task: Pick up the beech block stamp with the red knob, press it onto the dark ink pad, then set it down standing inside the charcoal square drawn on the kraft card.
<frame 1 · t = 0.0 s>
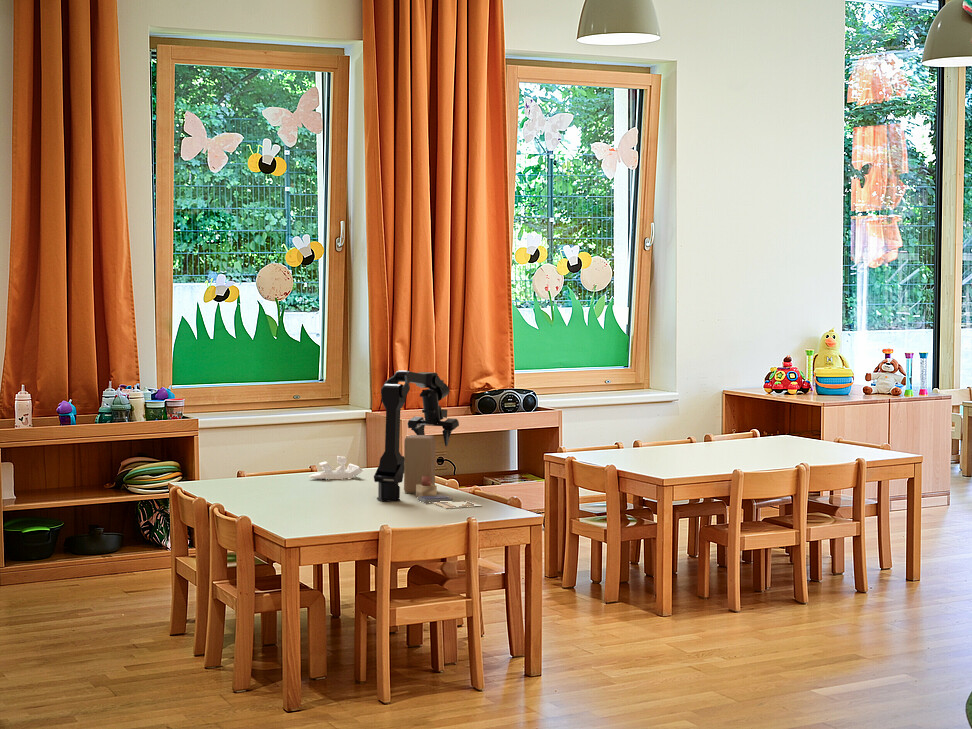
hand: (435, 445, 422), 15 cm above the table, tool pointing down, fingers open, 9 cm apart
stamp: (426, 498, 397), on the table
ink pad: (434, 501, 390), on the table
wooden block: (419, 492, 411), on the table
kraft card: (457, 505, 382), on the table
white coral: (333, 479, 441), on the table
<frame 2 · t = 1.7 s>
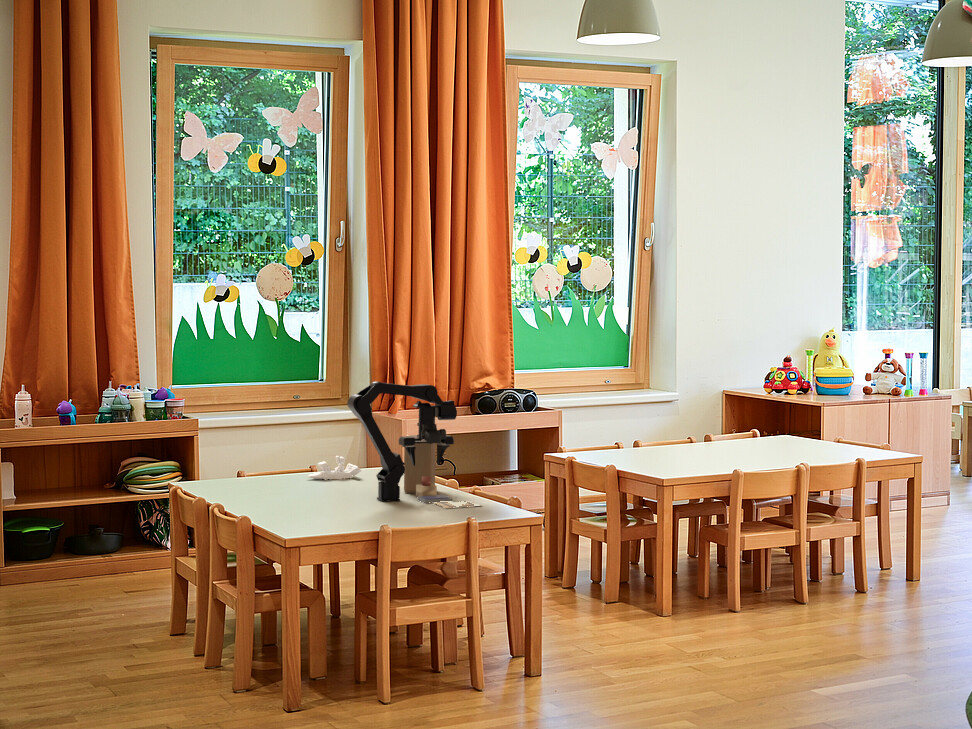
hand: (426, 465, 397), 11 cm above the table, tool pointing down, fingers open, 9 cm apart
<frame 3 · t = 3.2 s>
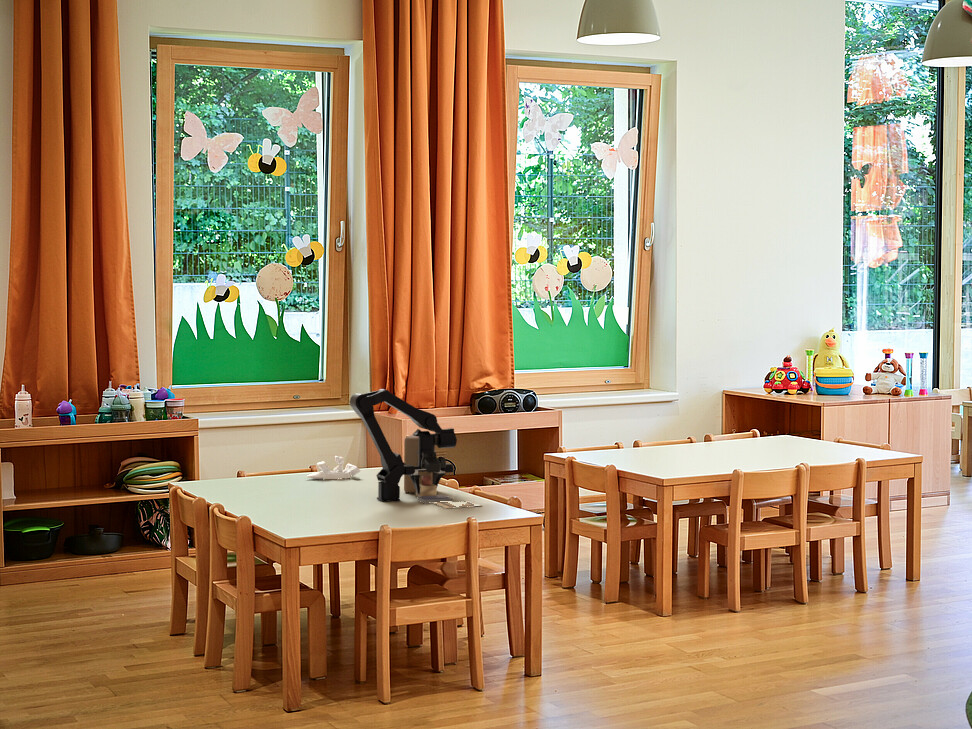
hand: (426, 493, 397), 2 cm above the table, tool pointing down, fingers closed on stamp, 5 cm apart
stamp: (426, 497, 397), on the table, touching gripper
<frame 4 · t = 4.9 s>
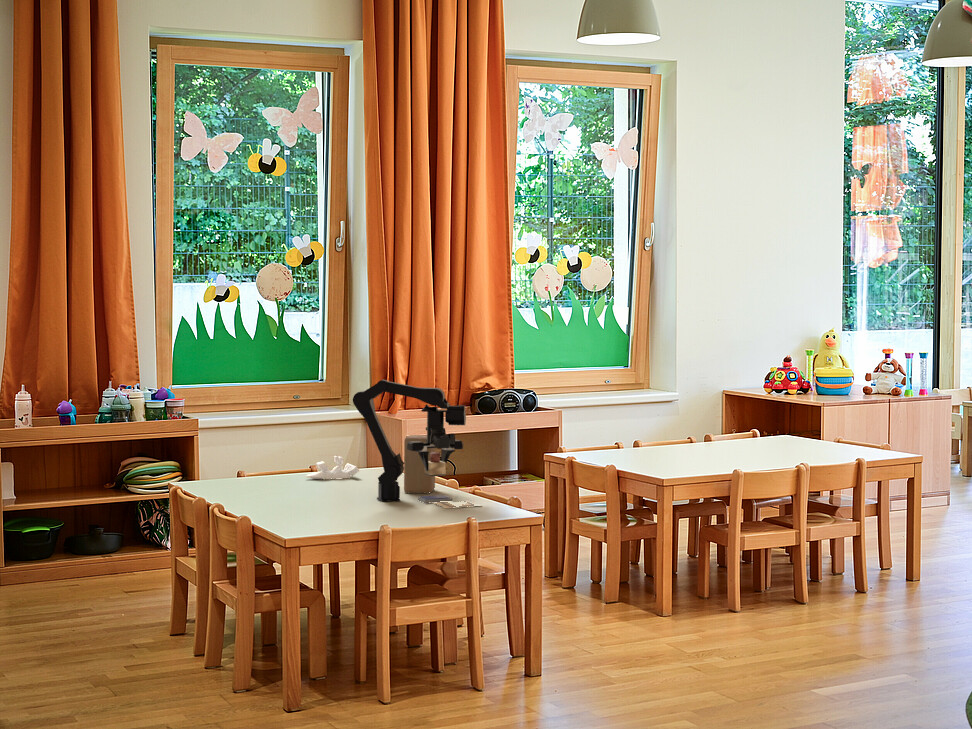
hand: (435, 470, 389), 11 cm above the table, tool pointing down, fingers closed on stamp, 5 cm apart
stamp: (434, 474, 390), point 9 cm above the table, touching gripper
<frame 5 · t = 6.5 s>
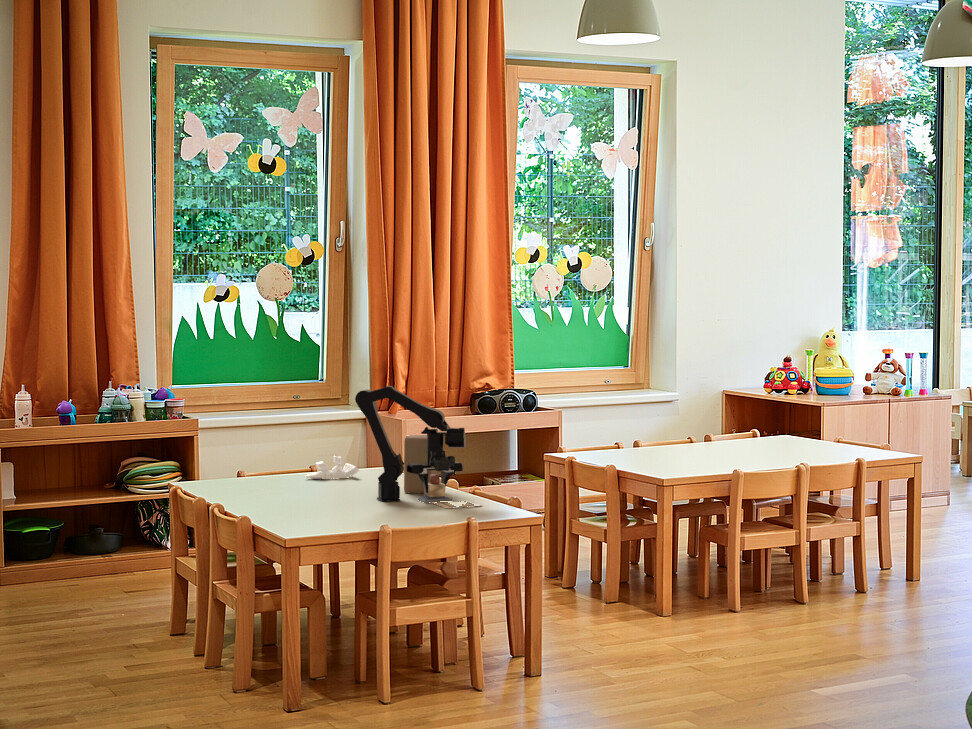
hand: (434, 492, 390), 3 cm above the table, tool pointing down, fingers closed on stamp, 5 cm apart
stamp: (434, 496, 390), point 1 cm above the table, touching gripper, ink pad
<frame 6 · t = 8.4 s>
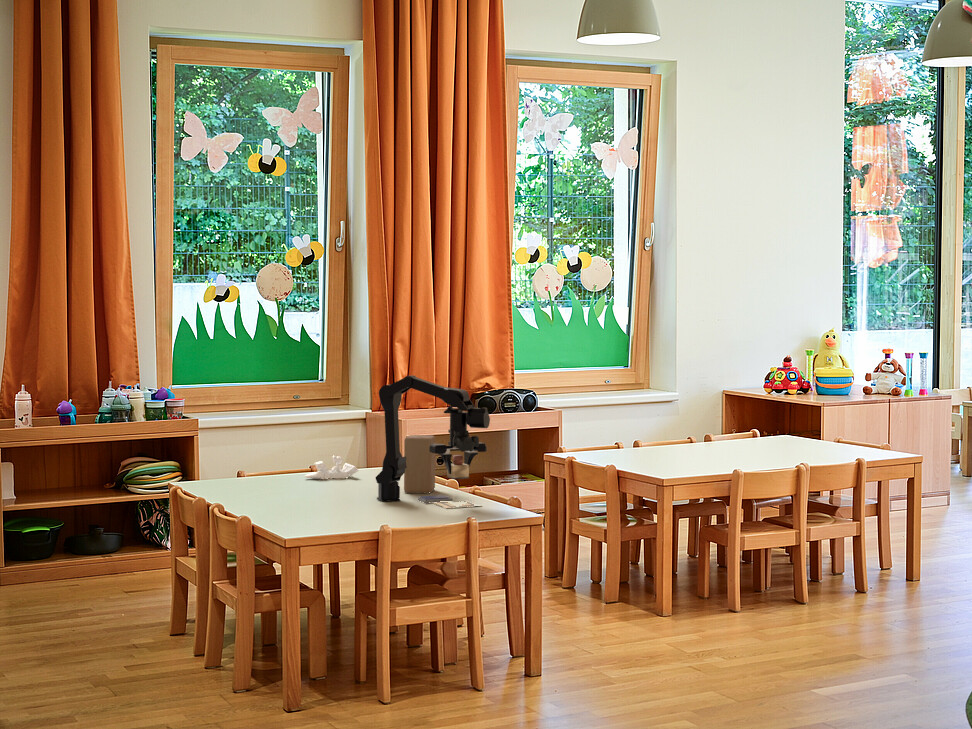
hand: (457, 473, 382), 11 cm above the table, tool pointing down, fingers closed on stamp, 5 cm apart
stamp: (457, 477, 382), point 9 cm above the table, touching gripper
when the fingers open (3 cm above the table, at t = 10.1 s): stamp drops 1 cm, resting on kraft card.
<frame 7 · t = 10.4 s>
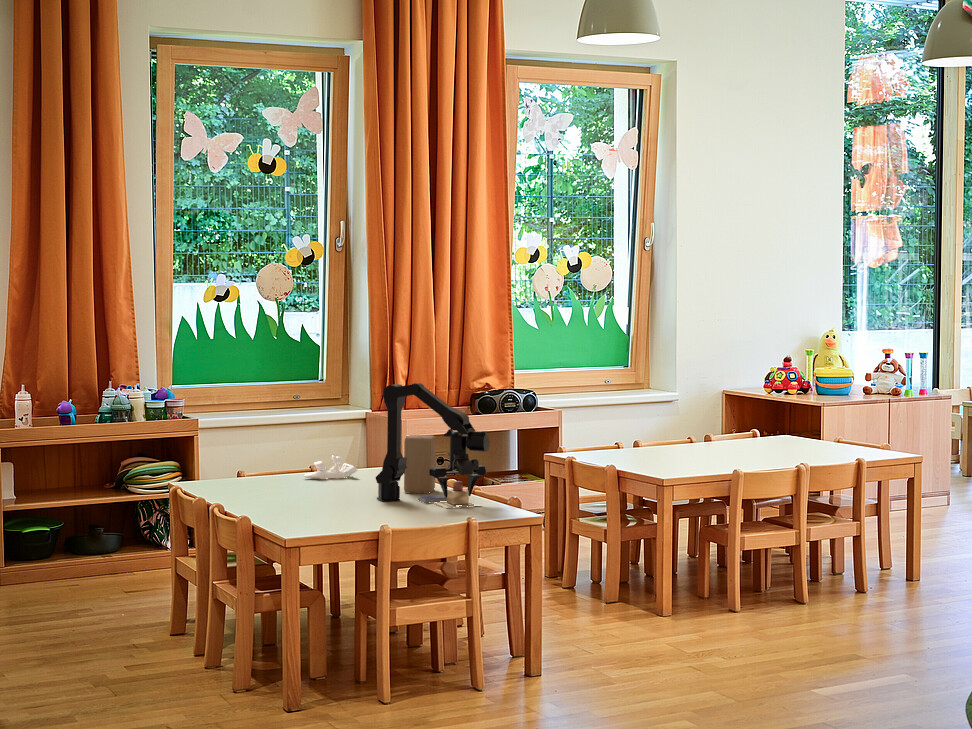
hand: (457, 496, 382), 3 cm above the table, tool pointing down, fingers open, 8 cm apart
stamp: (457, 504, 382), resting on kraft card
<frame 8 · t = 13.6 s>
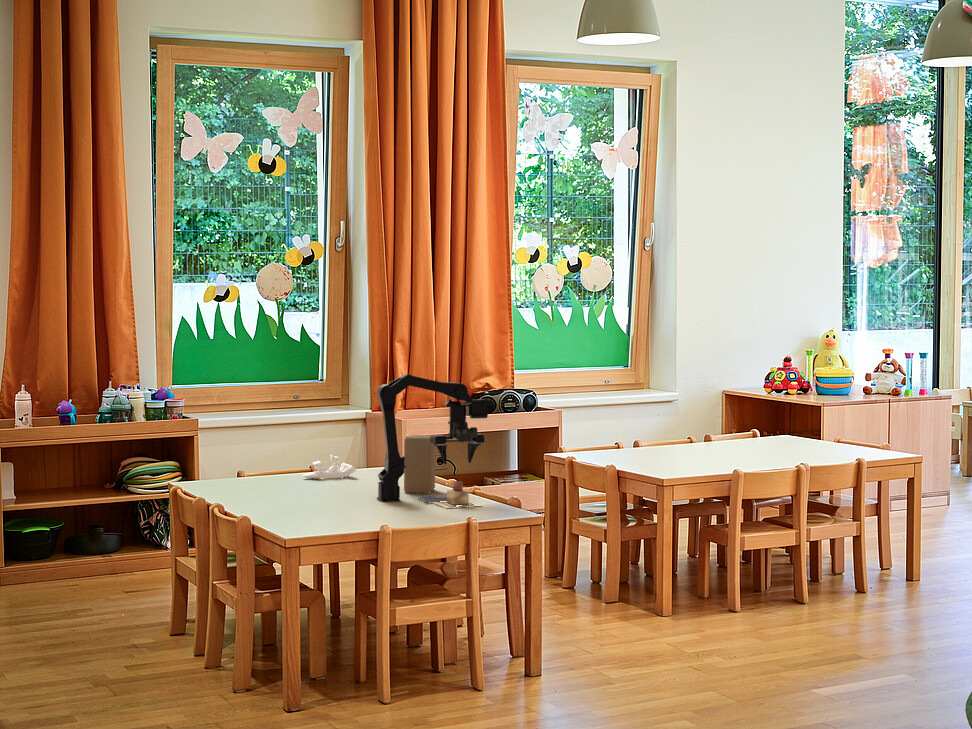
hand: (457, 463, 397), 12 cm above the table, tool pointing down, fingers open, 9 cm apart
at the end: stamp 0.1 cm off-centre on the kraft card, point 0.4 cm above the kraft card's base; stamp tilted 0°; the gripper is holding nothing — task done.
